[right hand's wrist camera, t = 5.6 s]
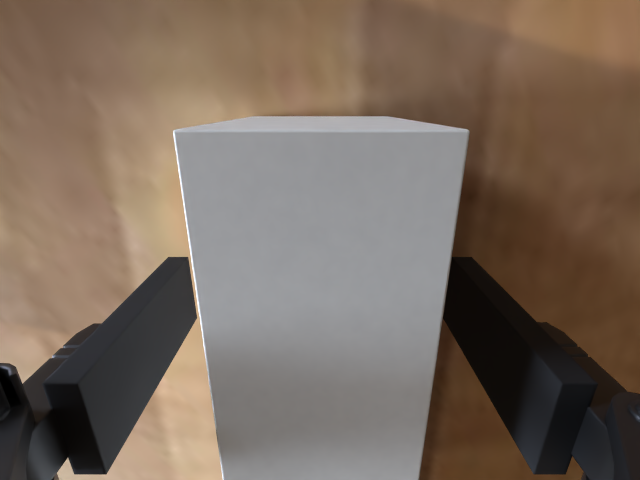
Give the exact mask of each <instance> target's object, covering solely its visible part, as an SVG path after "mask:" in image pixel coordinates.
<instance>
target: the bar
mask: <svg viewBox="0 0 640 480" xmlns="http://www.w3.org/2000/svg"><path fill="white" fill-rule="evenodd" d="M173 134H174V141H175V148H176V155H177V162H178V169H179V176H180V183H181V190H182V197H183V204H184V211H185V218H186V225H187V232H188V239H189V246H190V253H191V260H192V267H193V274H194V281H195V288H196V295H197V302H198V309H199V316H200V323H201V330H202V336H203V343H204V350H205V357H206V364H207V371H208V378H209V385H210V392H211V399H212V406H213V413H214V420H215V427H216V434H217V441H218V448H219V455H220V462H221V469H222V476H223V480H419V476H420V469H421V462H422V455H423V449H424V442H425V435H426V428H427V421H428V414H429V408H430V401H431V394H432V387H433V380H434V373H435V367H436V360H437V353H438V346H439V339H440V332H441V326H442V319H443V312H444V305H445V298H446V291H447V285H448V278H449V271H450V264H451V257H452V250H453V244H454V237H455V230H456V223H457V216H458V209H459V203H460V196H461V189H462V182H463V175H464V168H465V162H466V155H467V148H468V141H469V134H470V132H469V130H467V129H462V128H456V127H450V126H444V125H437V124H431V123H425V122H419V121H413V120H407V119H401V118H395V117H389V116H253V117H247V118H241V119H235V120H229V121H223V122H217V123H211V124H205V125H199V126H193V127H187V128H181V129H176V130H174V132H173Z"/></svg>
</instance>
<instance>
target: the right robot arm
mask: <svg viewBox="0 0 640 480" xmlns="http://www.w3.org/2000/svg"><path fill="white" fill-rule="evenodd" d="M196 319H197V315H196V308H195V301H194V294H193V287H192V280H191V274H190V267H189V260H188V257H168V258H167V259H166V260H165V261H164V262H163V263H162V264H161V265H160V266H159V267H158V268H157V269H156V270H155V271H154V272H153V273H152V274H151V275H150V276H149V277H148V278H147V279H146V280H145V281H144V282H143V283H142V284H141V285H140V286H139V287H138V288H137V289H136V290H135V291H134V292H133V293H132V294H131V295H130V296H129V297H128V298H127V299H126V300H125V301H124V302H123V303H122V304H121V305H120V306H119V307H118V308H117V309H116V310H115V311H114V312H113V313H112V314H111V315H110V316H109V317H108V318H107V319H106V320H105V321H104V322H103V323H102V324H92V325H91V326H89V327H87V328H85V329H84V330H82V331H80V332H78V333H77V334H75V335H74V336H73V337H72V338H71V339H70V340H69V341H68V342H67V343H66V344H65V345H64V346H63V348H60V349H59V350H58V351H57V352H56V353H55V354H54V355H53V358H50V359H49V360H48V361H47V362H46V363H44V364H43V365H42V366H41V367H40V368H39V369H38V370H37V371H36V372H35V373H34V374H33V375H32V376H31V377H29V378H28V379H27V380H26V381H25V382H24V383H23V384H22V382H21V379H20V377H19V374H18V371H17V369H16V367H15V366H13V365H11V364H8V363H0V480H59V478H58V475H57V472H58V470H59V469H60V467H61V466H62V465H63V463H64V462H65V461H66V459H67V458H69V461H70V464H71V466H72V469H73V472H74V474H107V472H108V471H109V469H110V467H111V465H112V464H113V462H114V460H115V459H116V457H117V455H118V453H119V452H120V450H121V448H122V446H123V445H124V443H125V441H126V440H127V438H128V436H129V434H130V433H131V431H132V429H133V427H134V426H135V424H136V422H137V421H138V419H139V417H140V415H141V414H142V412H143V410H144V408H145V407H146V405H147V403H148V402H149V400H150V398H151V396H152V395H153V393H154V391H155V389H156V388H157V386H158V384H159V383H160V381H161V379H162V377H163V376H164V374H165V372H166V370H167V369H168V367H169V365H170V364H171V362H172V360H173V358H174V357H175V355H176V353H177V351H178V350H179V348H180V346H181V345H182V343H183V341H184V339H185V338H186V336H187V334H188V333H189V331H190V329H191V327H192V326H193V324H194V322H195V320H196ZM443 319H444V320H445V322H446V324H447V326H448V327H449V329H450V331H451V332H452V334H453V336H454V338H455V339H456V341H457V343H458V345H459V346H460V348H461V350H462V351H463V353H464V355H465V357H466V358H467V360H468V362H469V364H470V365H471V367H472V369H473V370H474V372H475V374H476V376H477V377H478V379H479V381H480V383H481V384H482V386H483V388H484V389H485V391H486V393H487V395H488V396H489V398H490V400H491V402H492V403H493V405H494V407H495V408H496V410H497V412H498V414H499V415H500V417H501V419H502V421H503V422H504V424H505V426H506V427H507V429H508V431H509V433H510V434H511V436H512V438H513V440H514V441H515V443H516V445H517V446H518V448H519V450H520V452H521V453H522V455H523V457H524V459H525V460H526V462H527V464H528V465H529V467H530V469H531V471H532V472H533V474H566V472H567V469H568V466H569V464H570V461H571V458H572V456H573V457H574V459H575V460H576V461H577V463H578V464H579V466H580V467H581V468H582V470H583V471H584V473H583V475H582V478H581V480H640V394H637V393H632V392H627V391H626V390H625V389H624V388H623V387H622V386H621V385H620V384H619V383H618V382H617V381H616V380H615V379H614V378H612V377H611V376H610V375H609V374H608V373H607V372H606V371H605V370H604V369H603V368H602V367H601V366H600V365H598V364H597V363H596V362H595V361H594V360H593V359H592V358H591V357H588V354H587V353H586V352H584V351H583V350H582V349H581V348H580V347H577V344H576V343H575V342H574V341H573V340H572V339H571V338H569V337H568V336H567V335H566V334H565V333H564V332H562V331H561V330H559V329H557V328H555V327H554V326H552V325H550V324H548V323H547V322H536V321H535V320H534V319H533V318H532V317H531V316H530V315H529V314H528V313H527V312H526V311H525V310H524V309H523V308H522V307H521V306H520V305H519V304H518V303H517V302H516V301H515V300H514V299H513V298H512V297H511V296H510V295H509V294H508V293H507V292H506V291H505V290H504V289H503V288H502V287H501V286H500V285H499V284H498V283H497V282H496V281H495V280H494V279H493V278H492V277H491V276H490V275H489V274H488V273H487V272H486V271H485V270H484V269H483V268H482V267H481V266H480V265H479V264H478V263H477V262H476V261H475V260H474V259H473V258H472V257H452V260H451V267H450V274H449V280H448V287H447V294H446V301H445V308H444V315H443Z"/></svg>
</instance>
